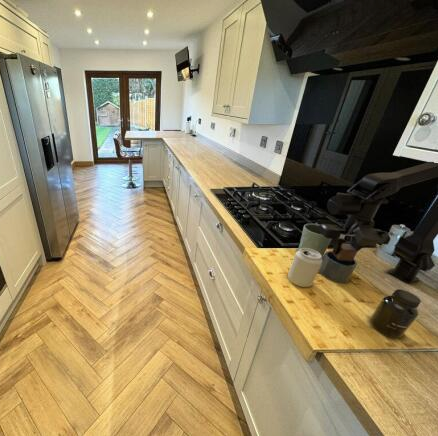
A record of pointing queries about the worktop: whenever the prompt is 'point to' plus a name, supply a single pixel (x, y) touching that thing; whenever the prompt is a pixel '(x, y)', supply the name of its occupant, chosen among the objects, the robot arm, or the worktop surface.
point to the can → (305, 267)
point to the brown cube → (346, 253)
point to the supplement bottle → (395, 313)
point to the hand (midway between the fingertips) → (342, 254)
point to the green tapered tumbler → (314, 239)
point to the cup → (336, 268)
